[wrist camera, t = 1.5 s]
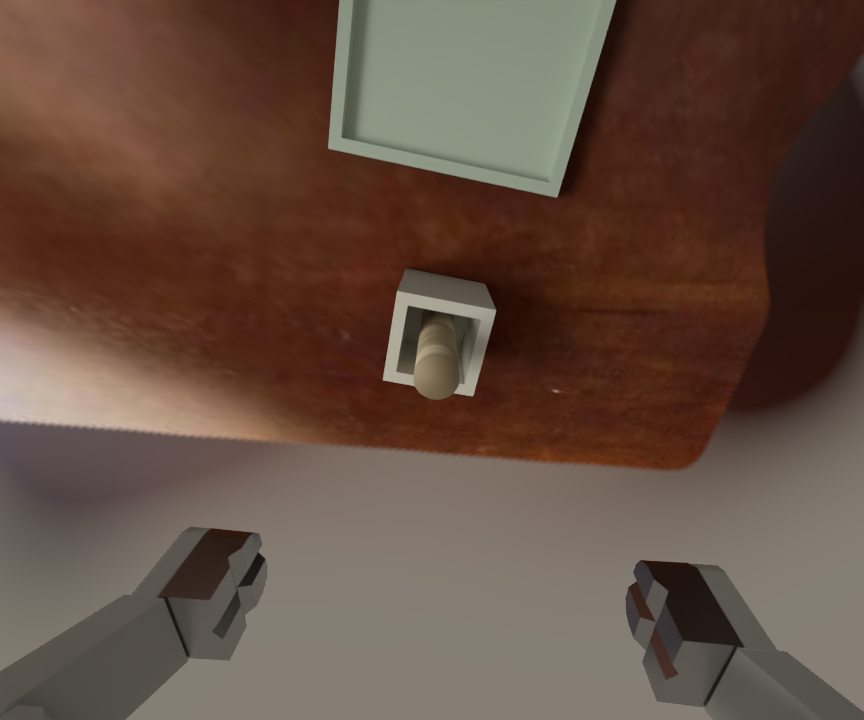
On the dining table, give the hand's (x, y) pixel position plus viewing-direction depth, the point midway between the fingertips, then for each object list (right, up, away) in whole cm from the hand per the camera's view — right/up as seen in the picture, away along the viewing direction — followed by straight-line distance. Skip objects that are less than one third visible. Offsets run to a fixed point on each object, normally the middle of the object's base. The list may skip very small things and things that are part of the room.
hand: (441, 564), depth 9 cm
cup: (0, +9, +33) cm, 34 cm away
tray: (+2, +28, +24) cm, 37 cm away
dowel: (0, +9, +32) cm, 33 cm away
